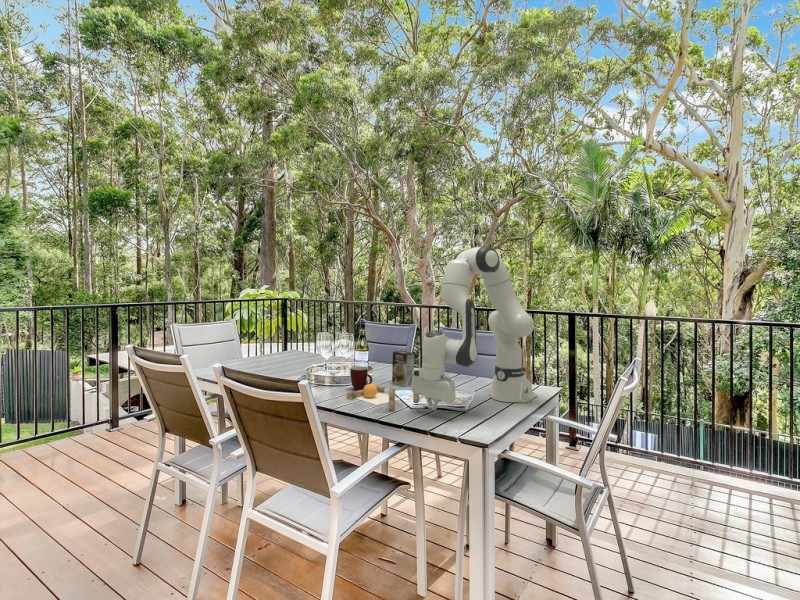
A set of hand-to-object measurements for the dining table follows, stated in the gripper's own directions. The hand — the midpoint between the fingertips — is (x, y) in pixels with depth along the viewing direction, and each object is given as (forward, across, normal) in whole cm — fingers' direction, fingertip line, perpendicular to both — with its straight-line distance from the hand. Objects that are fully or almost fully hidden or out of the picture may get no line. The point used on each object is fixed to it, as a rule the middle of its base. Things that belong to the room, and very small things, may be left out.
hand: (432, 409), depth 178 cm
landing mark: (+2, +30, +2) cm, 30 cm away
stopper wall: (+2, +38, +2) cm, 38 cm away
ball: (-1, +34, +3) cm, 34 cm away
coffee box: (+2, +42, -25) cm, 49 cm away
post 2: (+2, +14, -6) cm, 15 cm away
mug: (+2, +47, -3) cm, 47 cm away
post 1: (+2, +14, +8) cm, 16 cm away
